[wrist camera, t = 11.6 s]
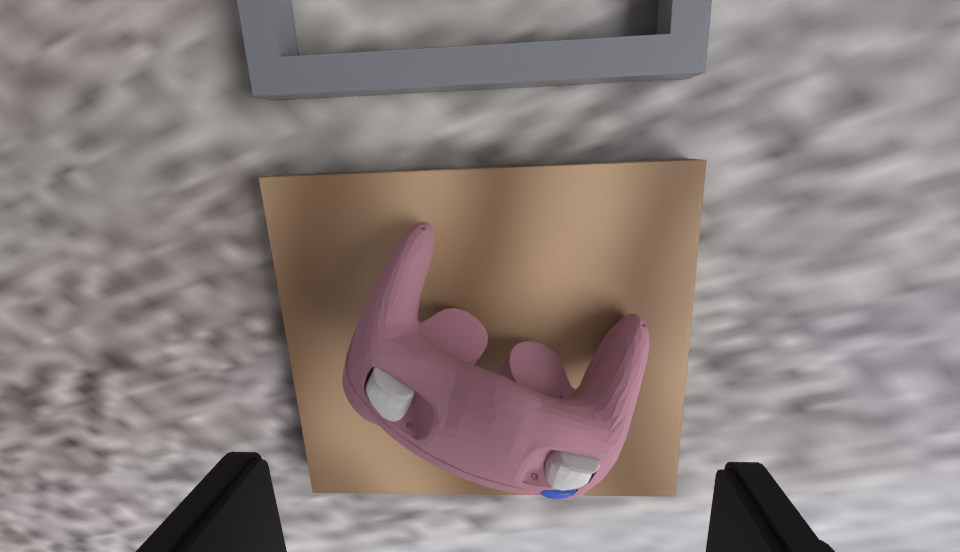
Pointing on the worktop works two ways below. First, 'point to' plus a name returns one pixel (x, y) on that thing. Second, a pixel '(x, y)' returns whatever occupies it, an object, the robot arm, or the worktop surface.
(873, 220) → the worktop surface
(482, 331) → the video game controller
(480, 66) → the frame
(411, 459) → the walnut board
